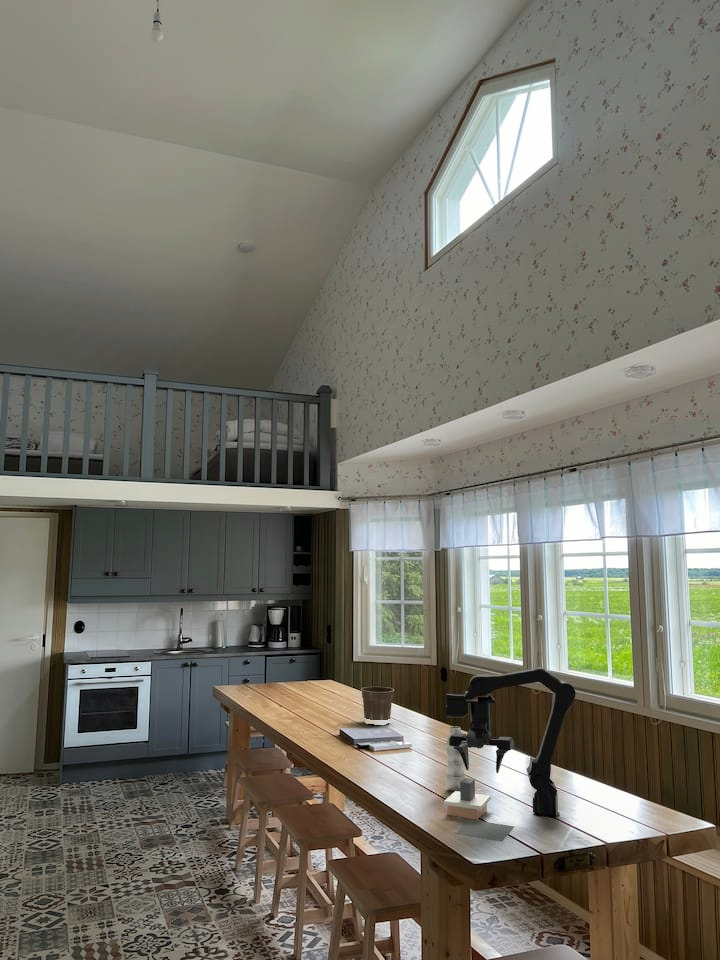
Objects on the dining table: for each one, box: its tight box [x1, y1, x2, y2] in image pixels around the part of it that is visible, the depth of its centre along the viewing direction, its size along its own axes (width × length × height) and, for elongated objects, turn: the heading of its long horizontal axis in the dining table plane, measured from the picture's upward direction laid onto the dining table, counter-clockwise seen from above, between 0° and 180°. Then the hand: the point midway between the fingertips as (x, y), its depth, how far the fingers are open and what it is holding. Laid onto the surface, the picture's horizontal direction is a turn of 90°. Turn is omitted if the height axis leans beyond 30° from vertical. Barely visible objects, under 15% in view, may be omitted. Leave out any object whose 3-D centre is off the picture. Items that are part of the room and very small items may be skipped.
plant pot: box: [360, 686, 395, 720], centre depth 347 cm, size 16×16×16 cm
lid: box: [443, 777, 492, 810], centre depth 214 cm, size 11×11×6 cm
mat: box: [454, 818, 515, 842], centre depth 199 cm, size 13×13×1 cm
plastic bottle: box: [445, 725, 466, 792], centre depth 239 cm, size 6×7×20 cm
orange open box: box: [447, 803, 488, 821], centre depth 213 cm, size 9×9×4 cm
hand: (482, 771), depth 217 cm, fingers open, 9 cm apart
